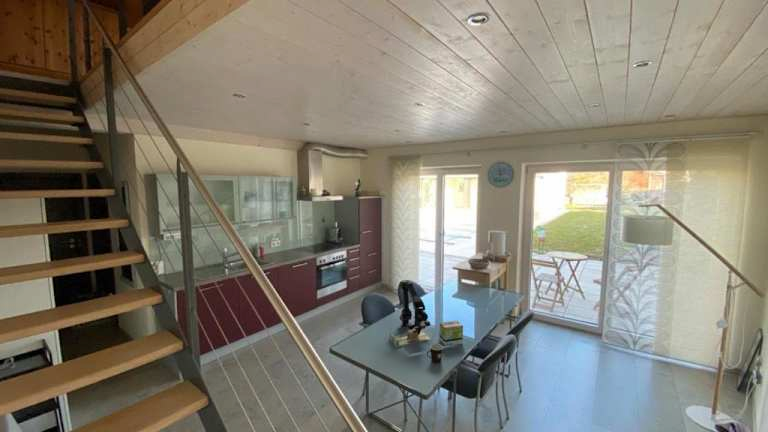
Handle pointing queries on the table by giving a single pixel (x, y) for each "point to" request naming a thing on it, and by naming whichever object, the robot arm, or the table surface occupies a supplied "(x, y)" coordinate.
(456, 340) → the tea box
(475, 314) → the table surface
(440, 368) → the table surface
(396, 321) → the table surface
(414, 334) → the walnut block
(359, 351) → the table surface
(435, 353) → the coffee mug
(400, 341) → the trap board
